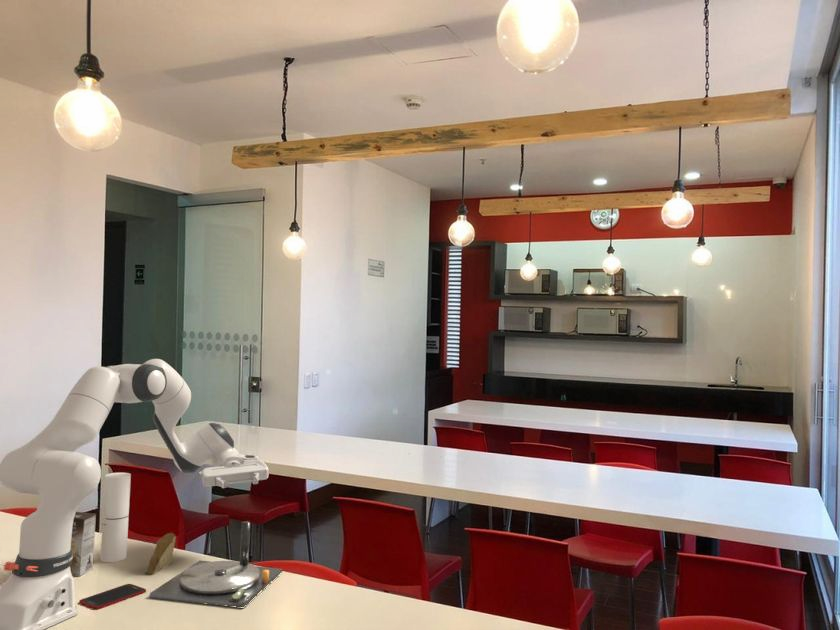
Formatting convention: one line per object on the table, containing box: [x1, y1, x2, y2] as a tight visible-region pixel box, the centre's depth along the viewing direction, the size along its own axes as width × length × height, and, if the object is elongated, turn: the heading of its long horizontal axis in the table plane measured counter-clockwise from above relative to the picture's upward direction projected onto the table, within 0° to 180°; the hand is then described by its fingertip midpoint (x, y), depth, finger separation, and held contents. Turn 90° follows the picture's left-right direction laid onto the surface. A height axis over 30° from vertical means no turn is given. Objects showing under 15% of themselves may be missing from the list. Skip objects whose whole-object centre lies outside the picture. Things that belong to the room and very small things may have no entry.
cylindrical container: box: [99, 472, 132, 563], centre depth 199 cm, size 7×7×25 cm
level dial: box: [180, 520, 259, 594], centre depth 181 cm, size 21×21×14 cm
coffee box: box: [70, 511, 97, 577], centre depth 187 cm, size 9×6×16 cm
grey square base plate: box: [149, 559, 283, 607], centre depth 181 cm, size 26×26×3 cm
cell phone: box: [78, 583, 147, 611], centre depth 170 cm, size 8×15×1 cm, turn 150°
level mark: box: [262, 570, 269, 583], centre depth 181 cm, size 2×2×3 cm
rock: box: [145, 532, 177, 575], centre depth 192 cm, size 11×9×10 cm
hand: (240, 483), depth 200 cm, fingers open, 8 cm apart
